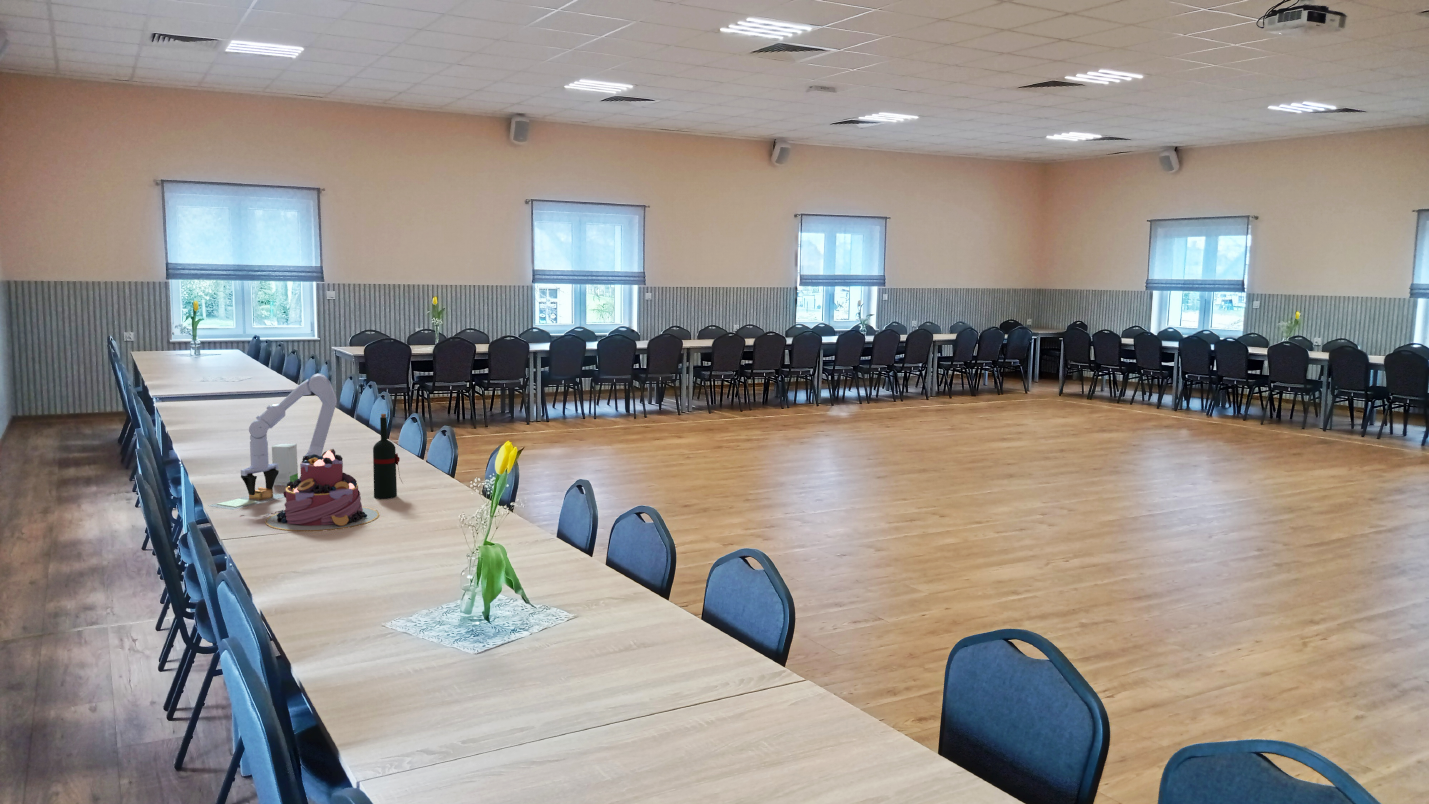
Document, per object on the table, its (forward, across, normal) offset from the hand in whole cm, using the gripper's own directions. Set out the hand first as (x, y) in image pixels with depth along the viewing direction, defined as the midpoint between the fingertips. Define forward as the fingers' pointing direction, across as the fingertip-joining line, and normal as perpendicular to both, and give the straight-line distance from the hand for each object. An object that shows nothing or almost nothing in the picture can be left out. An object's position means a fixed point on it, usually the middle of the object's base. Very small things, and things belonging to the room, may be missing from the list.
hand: (260, 492), depth 359 cm
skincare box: (+3, -22, -12) cm, 25 cm away
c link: (+2, 0, 0) cm, 2 cm away
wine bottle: (+3, -26, +34) cm, 43 cm away
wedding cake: (+3, +9, +38) cm, 39 cm away
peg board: (+3, +5, 0) cm, 6 cm away
